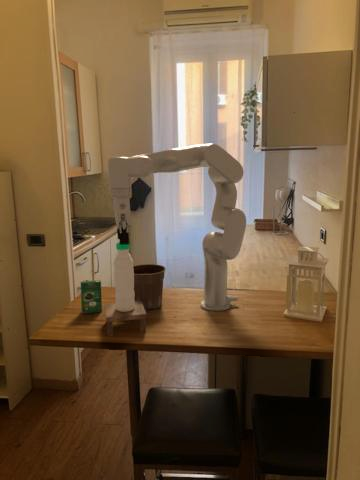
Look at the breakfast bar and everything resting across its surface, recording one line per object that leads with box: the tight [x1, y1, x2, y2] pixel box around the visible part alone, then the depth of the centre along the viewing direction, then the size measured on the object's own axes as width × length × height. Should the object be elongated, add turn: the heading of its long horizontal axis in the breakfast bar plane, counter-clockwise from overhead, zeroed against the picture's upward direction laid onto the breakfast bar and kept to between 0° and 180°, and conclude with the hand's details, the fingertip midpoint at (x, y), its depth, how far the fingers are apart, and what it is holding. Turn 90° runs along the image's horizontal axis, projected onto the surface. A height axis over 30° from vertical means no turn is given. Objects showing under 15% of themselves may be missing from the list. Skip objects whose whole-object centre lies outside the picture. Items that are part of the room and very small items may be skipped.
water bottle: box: [113, 241, 135, 312], centre depth 138 cm, size 7×7×25 cm
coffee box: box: [80, 279, 103, 315], centre depth 155 cm, size 8×3×13 cm, turn 110°
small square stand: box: [104, 301, 147, 337], centre depth 141 cm, size 14×14×7 cm
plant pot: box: [133, 263, 166, 311], centre depth 161 cm, size 16×16×16 cm
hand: (123, 241), depth 136 cm, fingers open, 9 cm apart
